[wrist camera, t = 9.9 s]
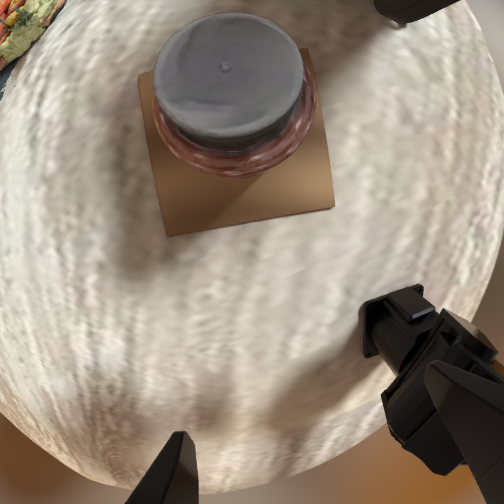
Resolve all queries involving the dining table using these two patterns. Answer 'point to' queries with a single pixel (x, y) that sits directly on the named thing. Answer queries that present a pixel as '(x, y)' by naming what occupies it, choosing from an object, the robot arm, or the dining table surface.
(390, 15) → the coffee press
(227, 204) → the walnut trivet
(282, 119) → the supplement bottle
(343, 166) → the dining table surface
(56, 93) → the dining table surface
